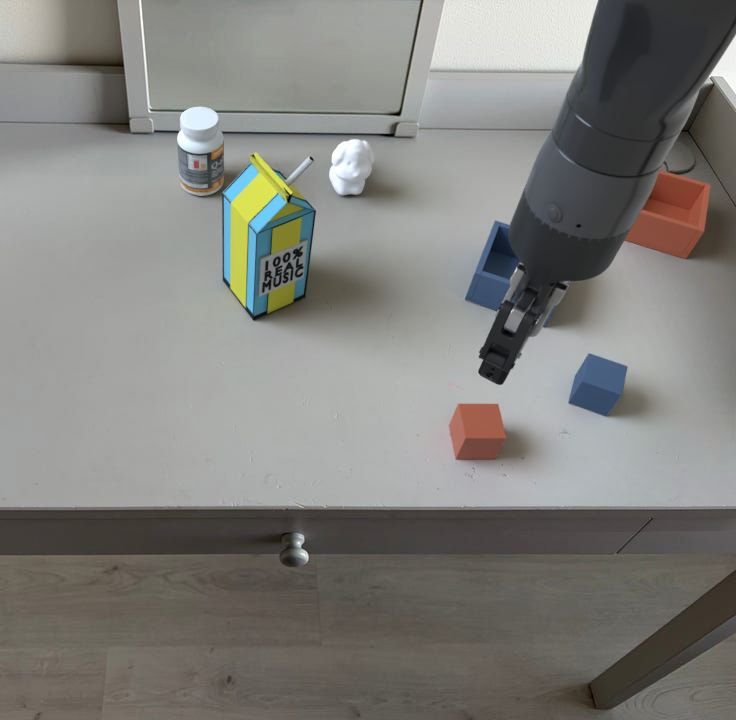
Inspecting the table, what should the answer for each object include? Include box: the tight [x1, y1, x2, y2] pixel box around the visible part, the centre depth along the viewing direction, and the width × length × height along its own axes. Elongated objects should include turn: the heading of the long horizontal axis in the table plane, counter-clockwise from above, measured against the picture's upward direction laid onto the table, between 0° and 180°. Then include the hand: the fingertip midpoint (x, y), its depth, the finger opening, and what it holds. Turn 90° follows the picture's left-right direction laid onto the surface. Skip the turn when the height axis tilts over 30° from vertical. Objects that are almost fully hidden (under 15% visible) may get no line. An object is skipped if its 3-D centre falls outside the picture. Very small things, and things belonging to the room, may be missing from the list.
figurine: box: [328, 138, 375, 196], centre depth 98 cm, size 5×8×8 cm
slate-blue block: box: [568, 353, 628, 417], centre depth 81 cm, size 4×4×4 cm
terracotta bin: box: [624, 169, 712, 260], centre depth 97 cm, size 9×9×5 cm
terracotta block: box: [448, 403, 507, 460], centre depth 77 cm, size 4×4×4 cm
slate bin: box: [464, 220, 558, 328], centre depth 90 cm, size 9×9×5 cm
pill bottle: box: [176, 106, 225, 197], centre depth 97 cm, size 6×6×10 cm
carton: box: [221, 152, 317, 321], centre depth 83 cm, size 7×8×18 cm
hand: (511, 344), depth 66 cm, fingers open, 8 cm apart
